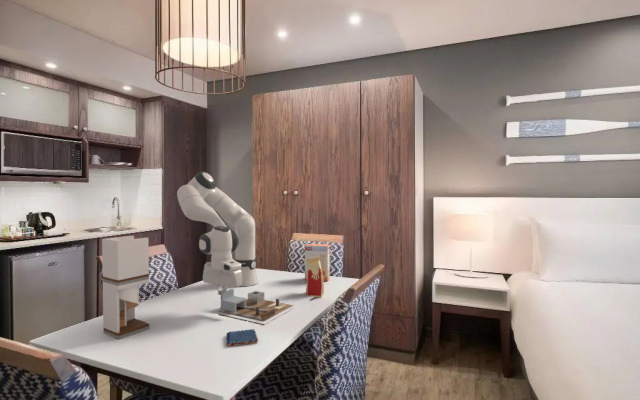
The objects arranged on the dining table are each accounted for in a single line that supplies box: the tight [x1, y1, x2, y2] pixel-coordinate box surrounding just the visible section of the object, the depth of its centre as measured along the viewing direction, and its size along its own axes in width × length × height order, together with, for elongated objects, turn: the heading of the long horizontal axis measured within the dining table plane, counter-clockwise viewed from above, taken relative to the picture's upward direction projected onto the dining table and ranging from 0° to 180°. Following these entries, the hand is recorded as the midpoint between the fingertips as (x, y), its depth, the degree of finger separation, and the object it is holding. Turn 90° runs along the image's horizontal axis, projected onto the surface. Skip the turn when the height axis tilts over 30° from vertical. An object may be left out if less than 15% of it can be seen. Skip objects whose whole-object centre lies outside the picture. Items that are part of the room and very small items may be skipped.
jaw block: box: [247, 290, 265, 304], centre depth 162 cm, size 5×5×4 cm
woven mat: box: [226, 328, 259, 347], centre depth 124 cm, size 10×11×2 cm
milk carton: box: [305, 256, 325, 298], centre depth 178 cm, size 9×9×20 cm
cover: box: [220, 288, 247, 312], centre depth 151 cm, size 8×7×7 cm
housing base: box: [217, 298, 294, 326], centre depth 153 cm, size 24×22×4 cm
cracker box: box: [304, 243, 331, 282], centre depth 208 cm, size 14×6×21 cm, turn 76°
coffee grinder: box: [101, 235, 150, 340], centre depth 131 cm, size 11×11×35 cm
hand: (221, 294), depth 154 cm, fingers closed
